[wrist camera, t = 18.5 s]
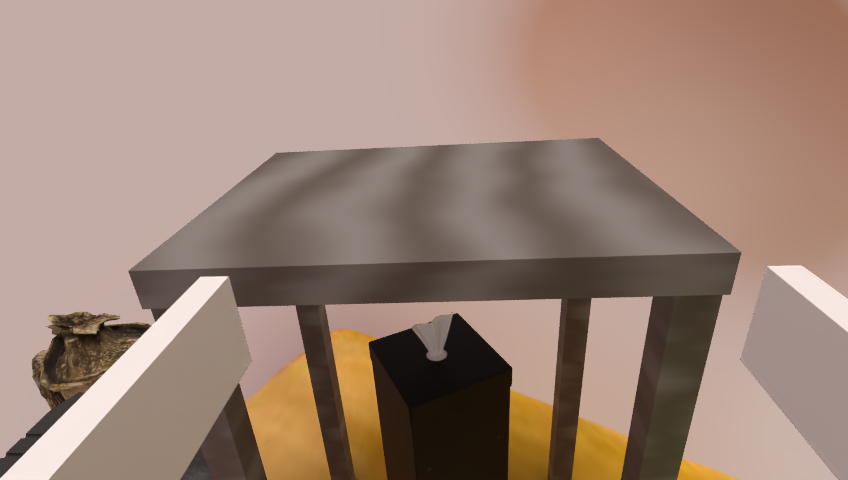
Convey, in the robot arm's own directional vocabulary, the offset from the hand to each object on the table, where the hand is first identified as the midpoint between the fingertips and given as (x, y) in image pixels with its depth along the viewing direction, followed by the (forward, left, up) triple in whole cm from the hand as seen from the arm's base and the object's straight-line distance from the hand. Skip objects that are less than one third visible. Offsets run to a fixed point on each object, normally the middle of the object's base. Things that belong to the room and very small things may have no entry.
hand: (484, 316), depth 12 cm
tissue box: (-1, -18, -40) cm, 44 cm away
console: (-1, -18, -40) cm, 44 cm away
